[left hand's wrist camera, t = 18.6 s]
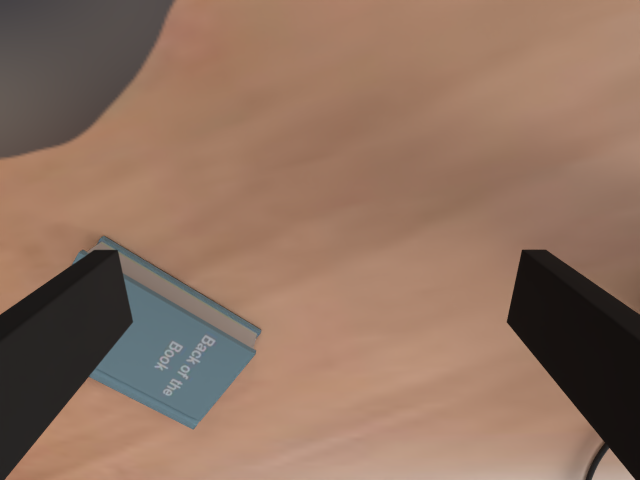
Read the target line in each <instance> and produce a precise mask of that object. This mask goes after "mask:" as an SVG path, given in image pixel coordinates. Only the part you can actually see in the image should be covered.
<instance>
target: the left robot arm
mask: <svg viewBox="0 0 640 480" xmlns="http://www.w3.org/2000/svg"><path fill="white" fill-rule="evenodd" d="M132 323H133V319H132V314H131V309H130V305H129V300H128V295H127V291H126V286H125V281H124V276H123V272H122V267H121V262H120V258H119V253H118V250H93V251H92V252H90V253H89V254H87V255H86V256H85V257H83V258H82V259H80V260H79V261H77V262H76V263H74V264H73V265H72V266H70V267H69V268H67V269H66V270H64V271H63V272H61V273H60V274H59V275H57V276H56V277H54V278H53V279H51V280H50V281H48V282H47V283H46V284H44V285H43V286H41V287H40V288H38V289H37V290H35V291H34V292H33V293H31V294H30V295H28V296H27V297H25V298H24V299H22V300H21V301H20V302H18V303H17V304H15V305H14V306H12V307H11V308H9V309H8V310H7V311H5V312H4V313H2V314H1V315H0V480H5V478H6V477H7V476H8V475H9V474H10V472H11V471H12V470H13V469H14V467H15V466H16V465H17V464H18V463H19V461H20V460H21V459H22V458H23V456H24V455H25V454H26V453H27V452H28V450H29V449H30V448H31V447H32V445H33V444H34V443H35V442H36V441H37V439H38V438H39V437H40V436H41V434H42V433H43V432H44V431H45V429H46V428H47V427H48V426H49V425H50V423H51V422H52V421H53V420H54V418H55V417H56V416H57V415H58V414H59V412H60V411H61V410H62V409H63V407H64V406H65V405H66V404H67V403H68V401H69V400H70V399H71V398H72V396H73V395H74V394H75V393H76V392H77V390H78V389H79V388H80V387H81V385H82V384H83V383H84V382H85V381H86V379H87V378H88V377H89V376H90V374H91V373H92V372H93V371H94V370H95V368H96V367H97V366H98V365H99V363H100V362H101V361H102V360H103V358H104V357H105V356H106V355H107V354H108V352H109V351H110V350H111V349H112V347H113V346H114V345H115V344H116V343H117V341H118V340H119V339H120V338H121V336H122V335H123V334H124V333H125V332H126V330H127V329H128V328H129V327H130V325H131V324H132ZM507 323H508V324H509V325H510V327H511V328H512V329H513V330H514V332H515V333H516V334H517V335H518V336H519V338H520V339H521V340H522V341H523V343H524V344H525V345H526V346H527V347H528V349H529V350H530V351H531V352H532V354H533V355H534V356H535V357H536V358H537V360H538V361H539V362H540V363H541V365H542V366H543V367H544V368H545V370H546V371H547V372H548V373H549V374H550V376H551V377H552V378H553V379H554V381H555V382H556V383H557V384H558V385H559V387H560V388H561V389H562V390H563V392H564V393H565V394H566V395H567V396H568V398H569V399H570V400H571V401H572V403H573V404H574V405H575V406H576V407H577V409H578V410H579V411H580V412H581V414H582V415H583V416H584V417H585V418H586V420H587V421H588V422H589V423H590V425H591V426H592V427H593V428H594V429H595V431H596V432H597V433H598V434H599V436H600V437H601V438H602V439H603V441H604V442H605V444H604V445H603V446H602V448H601V449H600V451H599V452H598V454H597V455H596V457H595V458H594V460H593V462H592V464H591V466H590V469H589V471H588V474H587V477H586V480H592V477H593V475H594V472H595V470H596V468H597V466H598V464H599V462H600V460H601V459H602V457H603V456H604V454H605V453H606V452H607V450H608V449H609V448H610V449H611V450H612V452H613V453H614V454H615V455H616V456H617V458H618V459H619V460H620V461H621V463H622V464H623V465H624V466H625V467H626V469H627V470H628V471H629V472H630V474H631V475H632V476H633V477H634V478H635V480H640V315H639V314H638V313H636V312H635V311H633V310H632V309H631V308H629V307H628V306H626V305H625V304H623V303H622V302H620V301H619V300H618V299H616V298H615V297H613V296H612V295H610V294H609V293H607V292H606V291H605V290H603V289H602V288H600V287H599V286H597V285H596V284H594V283H593V282H592V281H590V280H589V279H587V278H586V277H584V276H583V275H581V274H580V273H579V272H577V271H576V270H574V269H573V268H571V267H570V266H568V265H567V264H566V263H564V262H563V261H561V260H560V259H558V258H557V257H555V256H554V255H553V254H551V253H550V252H548V251H547V250H522V253H521V257H520V262H519V267H518V272H517V276H516V281H515V286H514V291H513V295H512V300H511V305H510V309H509V314H508V319H507Z"/></svg>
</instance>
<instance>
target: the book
mask: <svg viewBox="0 0 640 480" xmlns="http://www.w3.org/2000/svg"><path fill="white" fill-rule="evenodd" d="M93 250H118V253H119V258H120V262H121V267H122V272H123V276H124V281H125V286H126V291H127V295H128V300H129V305H130V309H131V314H132V319H133V323H132V324H131V325H130V327H129V328H128V329H127V330H126V332H125V333H124V334H123V335H122V336H121V338H120V339H119V340H118V341H117V343H116V344H115V345H114V346H113V347H112V349H111V350H110V351H109V352H108V354H107V355H106V356H105V357H104V358H103V360H102V361H101V362H100V363H99V365H98V366H97V367H96V368H95V370H94V371H93V372H92V373H91V374H90V376H89V377H91V378H93V379H94V380H96V381H98V382H100V383H102V384H104V385H106V386H108V387H110V388H112V389H114V390H116V391H118V392H120V393H122V394H124V395H126V396H128V397H130V398H132V399H134V400H136V401H138V402H140V403H142V404H144V405H146V406H148V407H150V408H152V409H154V410H156V411H158V412H160V413H162V414H164V415H166V416H168V417H170V418H171V419H173V420H175V421H177V422H179V423H181V424H183V425H185V426H187V427H189V428H191V429H194V428H195V427H196V426H197V424H198V422H199V421H201V420H202V418H203V417H204V416H205V415H206V414H207V412H208V411H209V410H210V409H211V408H212V406H213V405H214V404H215V403H216V401H217V400H218V399H219V398H220V397H221V395H222V394H223V393H224V392H225V391H226V389H227V388H228V387H229V386H230V384H231V383H232V382H233V381H234V380H235V378H236V377H237V376H238V375H239V374H240V372H241V371H242V370H243V369H244V367H245V366H246V365H247V364H248V363H249V361H250V360H251V359H252V358H253V357H254V355H255V353H256V350H254V349H253V348H254V344H255V340H256V338H257V337H258V336H259V335H260V333H261V330H260V329H259V328H257V327H255V326H254V325H252V324H250V323H248V322H247V321H245V320H243V319H242V318H240V317H238V316H237V315H235V314H233V313H232V312H230V311H228V310H227V309H225V308H223V307H222V306H220V305H218V304H217V303H215V302H213V301H212V300H210V299H208V298H207V297H205V296H203V295H202V294H200V293H198V292H197V291H195V290H193V289H192V288H190V287H188V286H187V285H185V284H183V283H182V282H180V281H178V280H177V279H175V278H173V277H172V276H170V275H168V274H167V273H165V272H163V271H162V270H160V269H158V268H157V267H155V266H153V265H152V264H150V263H148V262H147V261H145V260H143V259H142V258H140V257H138V256H136V255H135V254H133V253H131V252H130V251H128V250H126V249H125V248H123V247H121V246H120V245H118V244H116V243H115V242H113V241H111V240H110V239H108V238H106V237H105V236H103V237H101V238H100V240H99V242H98V243H97V245H96V246H95V247H93V248H92V249H90V250H89V251H87V252H86V251H84V250H82V251H80V252H79V253H78V255H77V257H76V259H75V260H74V262H73V264H74V263H76V262H77V261H79V260H80V259H82V258H83V257H85V256H86V255H87V254H89V253H90V252H92V251H93ZM73 264H72V265H73Z"/></svg>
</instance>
